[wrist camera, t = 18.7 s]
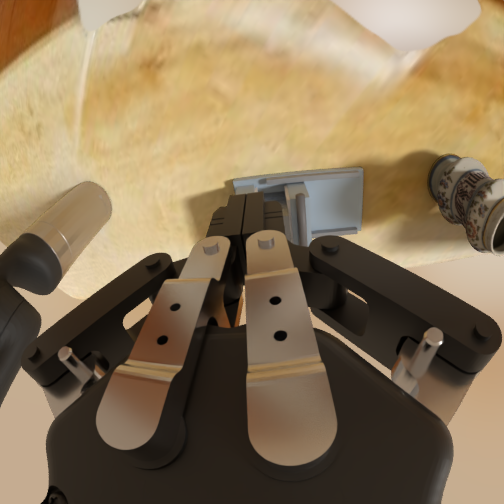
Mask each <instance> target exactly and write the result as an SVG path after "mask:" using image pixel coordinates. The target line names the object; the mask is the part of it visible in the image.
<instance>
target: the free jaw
mask: <svg viewBox="0 0 504 504" xmlns="http://www.w3.org/2000/svg"><path fill="white" fill-rule="evenodd" d="M284 188H285V196H286V201H287V207H288V212H289V220H290V231H291V243H293V244H296V245H299V246H306V247H309V245H310V243H311V242H312V234H311V212H310V197H309V194H308V191H307V189H306V186H305V183H304V182H294V183H287V185H286V186H284Z"/></svg>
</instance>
